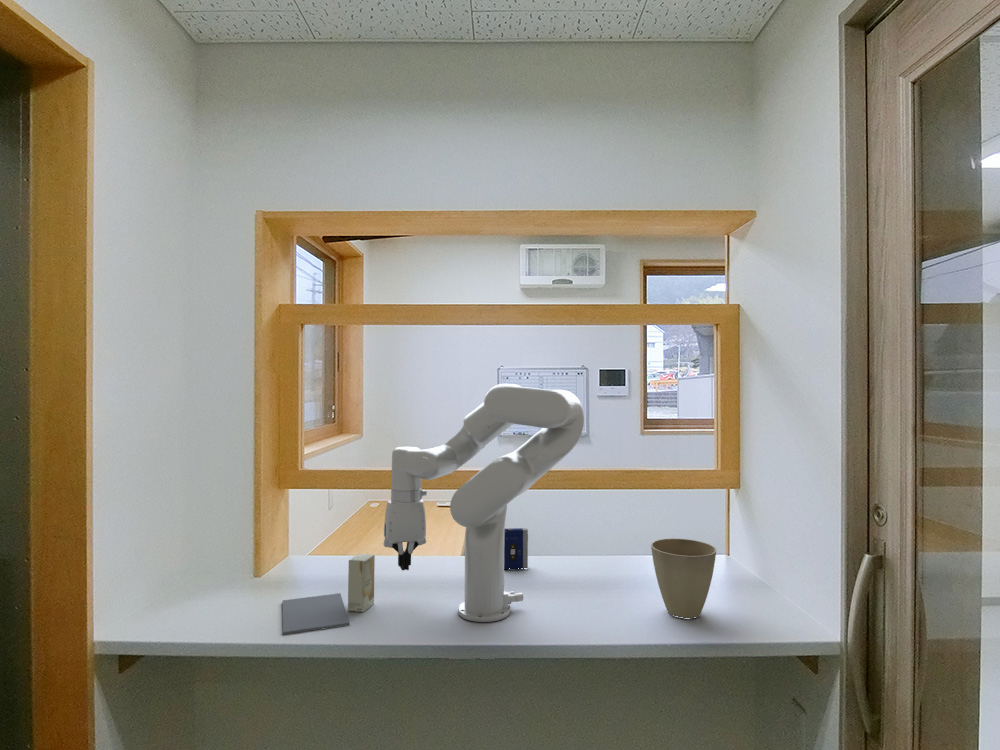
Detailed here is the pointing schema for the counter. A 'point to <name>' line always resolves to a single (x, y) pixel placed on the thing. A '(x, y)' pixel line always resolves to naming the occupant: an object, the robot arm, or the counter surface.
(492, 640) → the counter surface
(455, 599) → the counter surface
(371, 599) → the skincare box
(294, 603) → the mat
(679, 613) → the plant pot
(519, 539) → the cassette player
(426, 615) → the counter surface
